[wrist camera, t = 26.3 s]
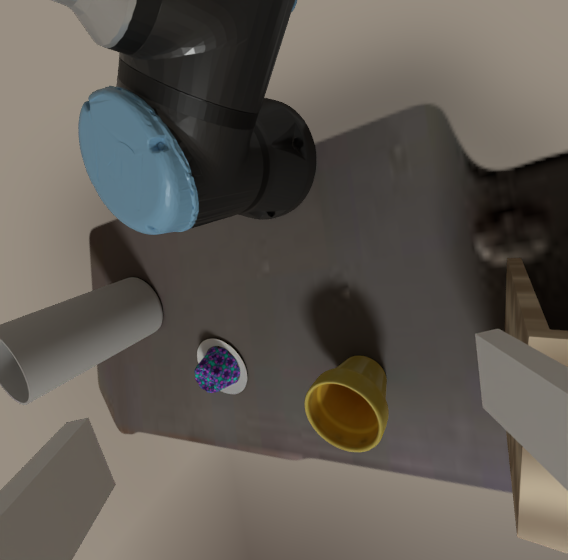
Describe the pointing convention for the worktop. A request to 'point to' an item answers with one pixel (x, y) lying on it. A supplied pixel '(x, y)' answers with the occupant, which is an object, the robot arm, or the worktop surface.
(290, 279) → the worktop surface
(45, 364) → the cylinder vase
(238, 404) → the worktop surface
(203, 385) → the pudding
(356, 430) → the plant pot
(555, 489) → the pine box
